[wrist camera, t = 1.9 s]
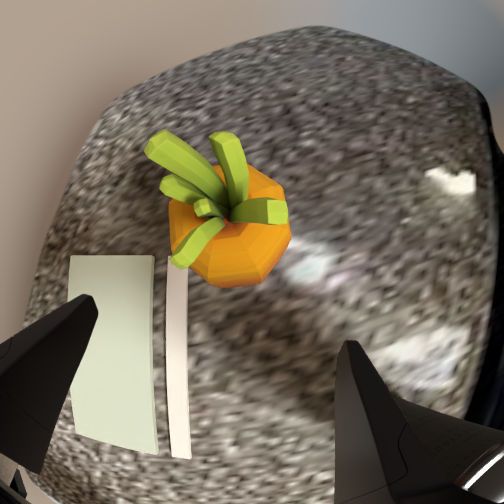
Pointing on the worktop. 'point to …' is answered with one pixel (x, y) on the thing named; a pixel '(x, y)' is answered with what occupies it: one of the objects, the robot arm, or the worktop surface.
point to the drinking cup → (460, 449)
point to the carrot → (221, 211)
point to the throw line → (177, 360)
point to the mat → (116, 352)
